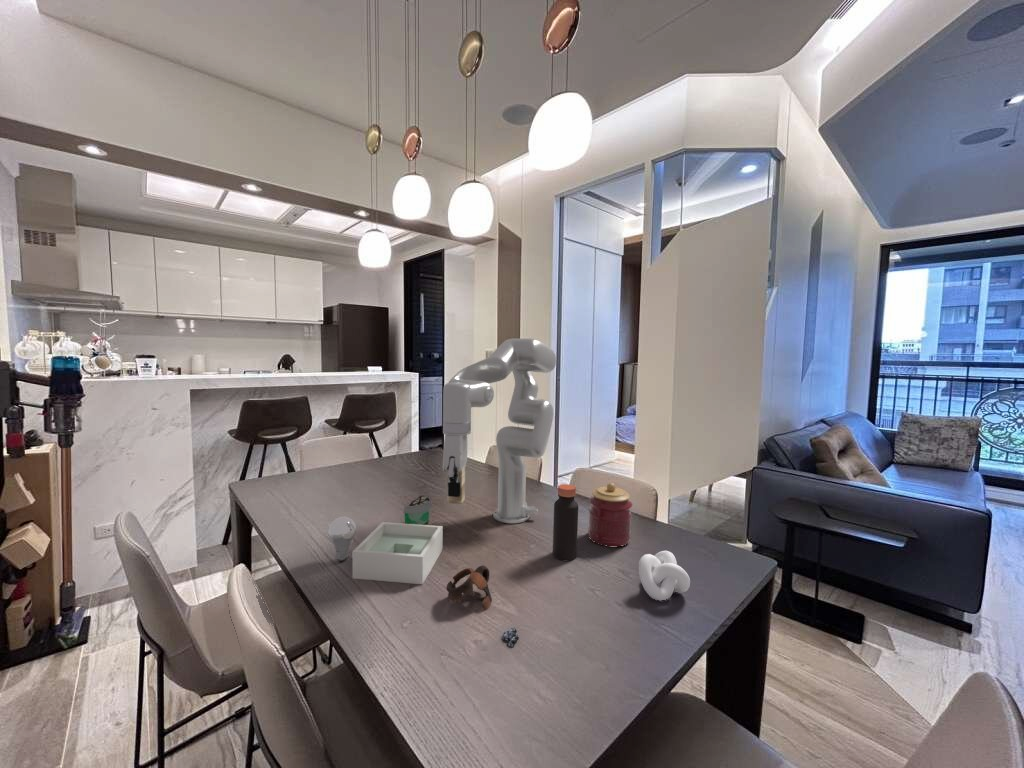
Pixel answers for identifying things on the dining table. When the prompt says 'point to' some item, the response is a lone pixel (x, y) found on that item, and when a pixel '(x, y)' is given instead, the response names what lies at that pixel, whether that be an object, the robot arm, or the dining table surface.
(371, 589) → the dining table surface
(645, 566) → the white knot sculpture
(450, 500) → the maple peg
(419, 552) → the bore plate
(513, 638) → the blueberries
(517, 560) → the dining table surface
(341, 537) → the light bulb
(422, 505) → the food container
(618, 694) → the dining table surface
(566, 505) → the bottle
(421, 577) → the open box
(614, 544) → the canister
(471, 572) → the brown looped sculpture
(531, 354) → the robot arm
